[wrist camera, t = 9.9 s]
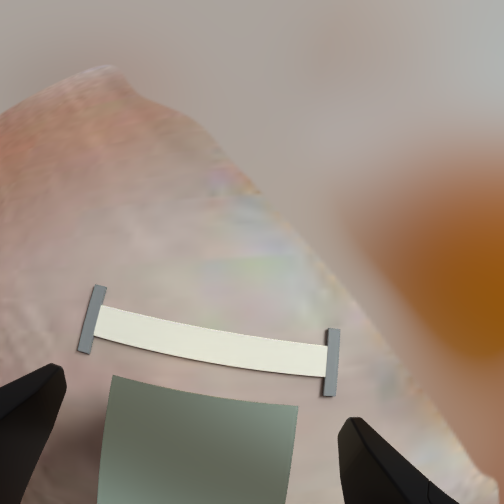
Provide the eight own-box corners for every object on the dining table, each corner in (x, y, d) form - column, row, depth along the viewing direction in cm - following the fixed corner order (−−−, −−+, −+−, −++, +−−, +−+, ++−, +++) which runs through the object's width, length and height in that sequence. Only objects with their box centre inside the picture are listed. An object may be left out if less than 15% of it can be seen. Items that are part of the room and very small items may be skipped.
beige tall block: (228, 462, 15) (274, 557, 4) (159, 451, 15) (96, 530, 4) (236, 399, 17) (298, 406, 6) (168, 388, 16) (112, 375, 6)
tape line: (338, 330, 20) (340, 329, 19) (334, 396, 18) (335, 396, 17) (96, 285, 18) (95, 284, 18) (78, 350, 16) (77, 350, 16)
